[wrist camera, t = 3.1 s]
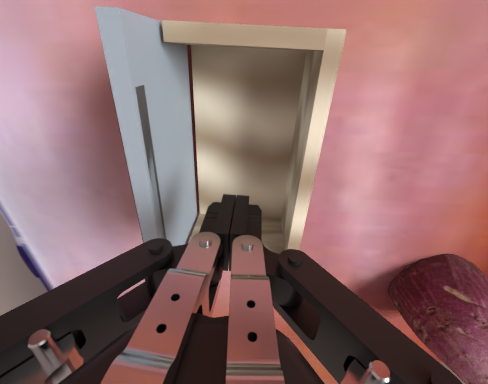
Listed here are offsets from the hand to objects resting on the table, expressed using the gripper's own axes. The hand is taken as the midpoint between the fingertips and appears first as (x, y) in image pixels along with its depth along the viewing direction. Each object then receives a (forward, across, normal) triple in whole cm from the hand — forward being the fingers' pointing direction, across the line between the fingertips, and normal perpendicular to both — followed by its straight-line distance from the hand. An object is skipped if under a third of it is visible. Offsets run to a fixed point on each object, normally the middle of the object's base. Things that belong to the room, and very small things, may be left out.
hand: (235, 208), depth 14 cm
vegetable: (+12, -25, +17) cm, 32 cm away
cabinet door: (+10, +5, 0) cm, 11 cm away
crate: (+11, 0, 0) cm, 11 cm away
